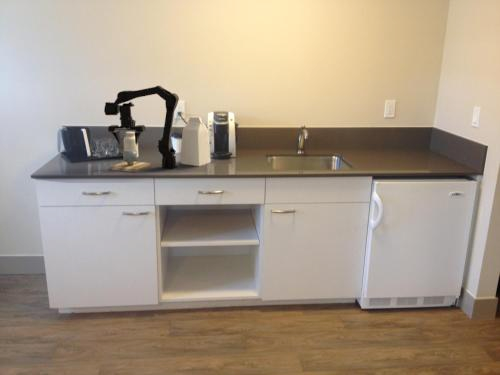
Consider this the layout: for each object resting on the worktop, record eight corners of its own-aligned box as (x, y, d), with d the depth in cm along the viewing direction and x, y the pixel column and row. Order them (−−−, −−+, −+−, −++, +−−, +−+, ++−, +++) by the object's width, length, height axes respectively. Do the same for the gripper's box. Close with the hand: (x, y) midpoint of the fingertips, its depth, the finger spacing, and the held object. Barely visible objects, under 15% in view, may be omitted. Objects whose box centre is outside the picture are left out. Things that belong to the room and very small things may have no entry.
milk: (181, 163, 255) (180, 117, 247) (193, 159, 265) (192, 114, 257) (199, 166, 250) (198, 118, 242) (210, 162, 259) (210, 116, 252)
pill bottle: (141, 156, 270) (140, 131, 266) (132, 159, 263) (131, 133, 259) (130, 155, 273) (129, 130, 269) (121, 158, 266) (120, 132, 262)
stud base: (150, 165, 249) (150, 159, 248) (136, 172, 235) (136, 165, 234) (125, 163, 253) (125, 156, 252) (109, 169, 239) (109, 162, 238)
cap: (139, 159, 245) (138, 150, 244) (132, 162, 239) (131, 152, 237) (128, 158, 247) (127, 149, 246) (120, 161, 241) (120, 151, 239)
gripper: (147, 113, 246) (149, 141, 250) (114, 113, 247) (116, 141, 252) (141, 116, 235) (143, 145, 240) (106, 116, 237) (109, 145, 241)
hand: (128, 144), depth 243 cm, fingers open, 9 cm apart
